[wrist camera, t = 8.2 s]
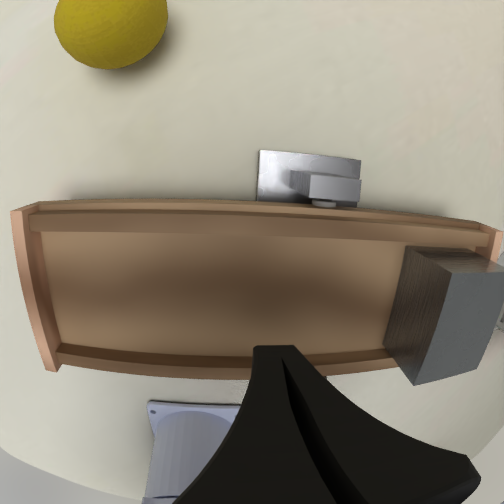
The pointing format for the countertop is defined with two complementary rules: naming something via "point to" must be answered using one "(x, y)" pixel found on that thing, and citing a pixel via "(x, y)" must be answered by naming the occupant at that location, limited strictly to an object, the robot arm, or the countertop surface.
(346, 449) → the robot arm
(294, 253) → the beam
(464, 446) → the countertop surface
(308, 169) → the pivot stand
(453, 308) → the steel block
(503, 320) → the french press
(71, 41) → the lemon
